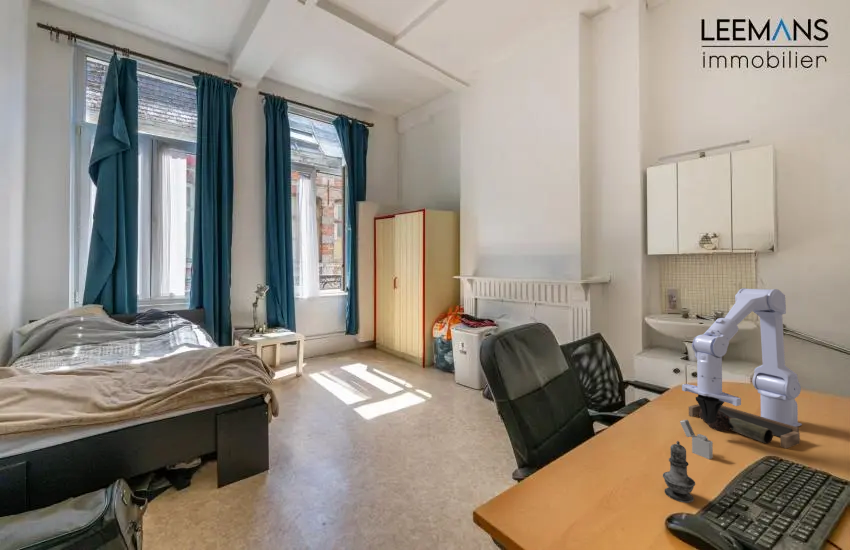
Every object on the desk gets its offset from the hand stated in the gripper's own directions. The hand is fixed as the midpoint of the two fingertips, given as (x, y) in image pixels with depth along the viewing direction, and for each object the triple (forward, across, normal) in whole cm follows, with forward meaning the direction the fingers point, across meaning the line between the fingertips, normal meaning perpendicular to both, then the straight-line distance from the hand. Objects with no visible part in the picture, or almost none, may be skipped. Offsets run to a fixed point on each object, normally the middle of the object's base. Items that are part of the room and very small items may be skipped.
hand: (710, 422), depth 106 cm
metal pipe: (+5, 0, +10) cm, 11 cm away
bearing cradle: (+4, 0, +15) cm, 16 cm away
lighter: (+5, +4, -13) cm, 15 cm away
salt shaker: (+5, +14, -36) cm, 39 cm away
